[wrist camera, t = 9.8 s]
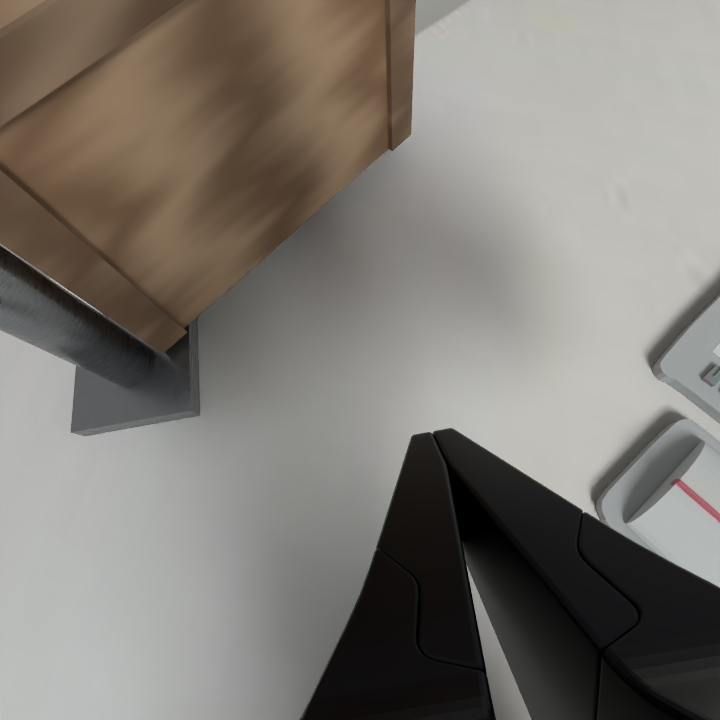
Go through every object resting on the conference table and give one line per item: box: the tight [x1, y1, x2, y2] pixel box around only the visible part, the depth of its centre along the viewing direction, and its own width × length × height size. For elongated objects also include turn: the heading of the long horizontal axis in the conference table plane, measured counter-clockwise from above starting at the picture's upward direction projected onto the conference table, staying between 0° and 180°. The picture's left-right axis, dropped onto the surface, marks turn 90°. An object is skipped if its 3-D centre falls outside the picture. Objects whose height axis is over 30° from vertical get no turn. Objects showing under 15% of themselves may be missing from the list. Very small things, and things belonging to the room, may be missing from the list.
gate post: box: [0, 246, 200, 436], centre depth 15 cm, size 6×6×16 cm
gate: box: [0, 0, 416, 354], centre depth 17 cm, size 18×2×13 cm, turn 136°
